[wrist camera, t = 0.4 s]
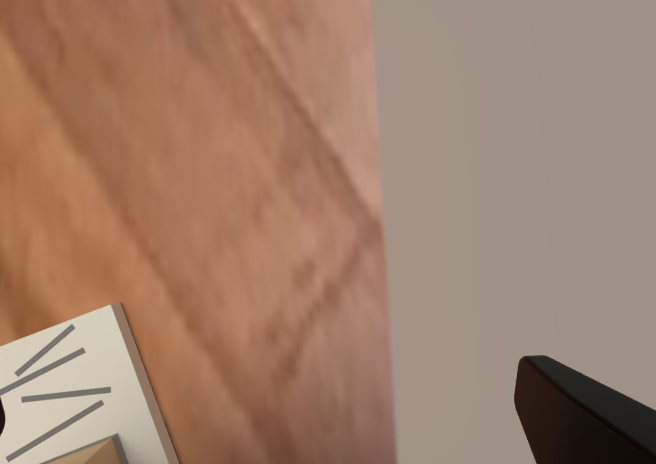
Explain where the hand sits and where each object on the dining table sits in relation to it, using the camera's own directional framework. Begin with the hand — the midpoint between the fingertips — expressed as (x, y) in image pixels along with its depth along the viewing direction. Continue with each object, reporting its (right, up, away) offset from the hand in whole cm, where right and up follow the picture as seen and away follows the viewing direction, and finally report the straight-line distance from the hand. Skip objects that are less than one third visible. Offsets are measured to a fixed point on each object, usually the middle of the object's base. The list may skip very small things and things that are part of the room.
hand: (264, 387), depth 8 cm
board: (-9, -6, +12) cm, 17 cm away
